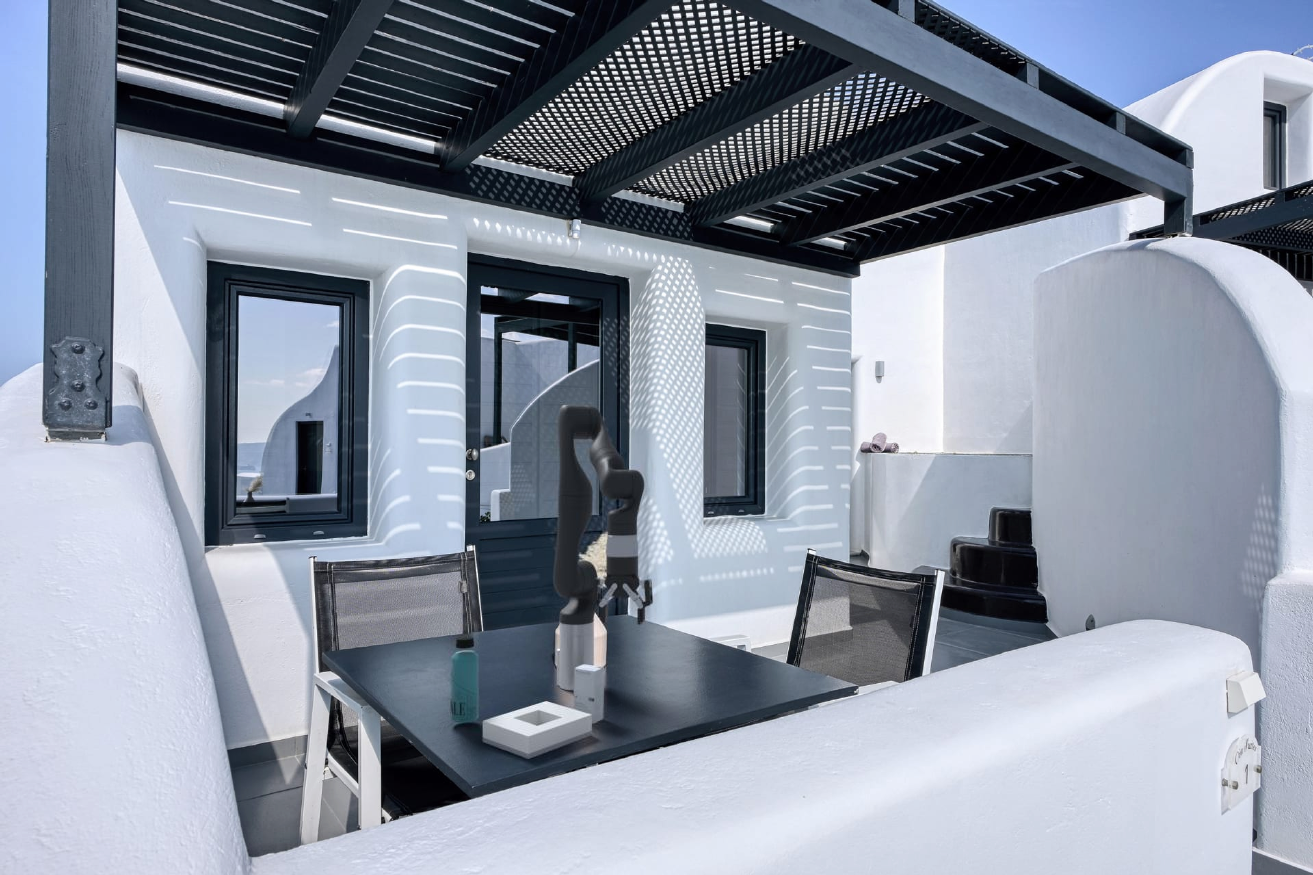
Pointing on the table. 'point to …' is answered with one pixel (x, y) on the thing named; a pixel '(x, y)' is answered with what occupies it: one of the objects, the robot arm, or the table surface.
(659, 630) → the table surface
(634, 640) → the table surface
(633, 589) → the robot arm
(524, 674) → the table surface
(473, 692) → the beverage bottle
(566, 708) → the white flat block
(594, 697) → the skincare box
